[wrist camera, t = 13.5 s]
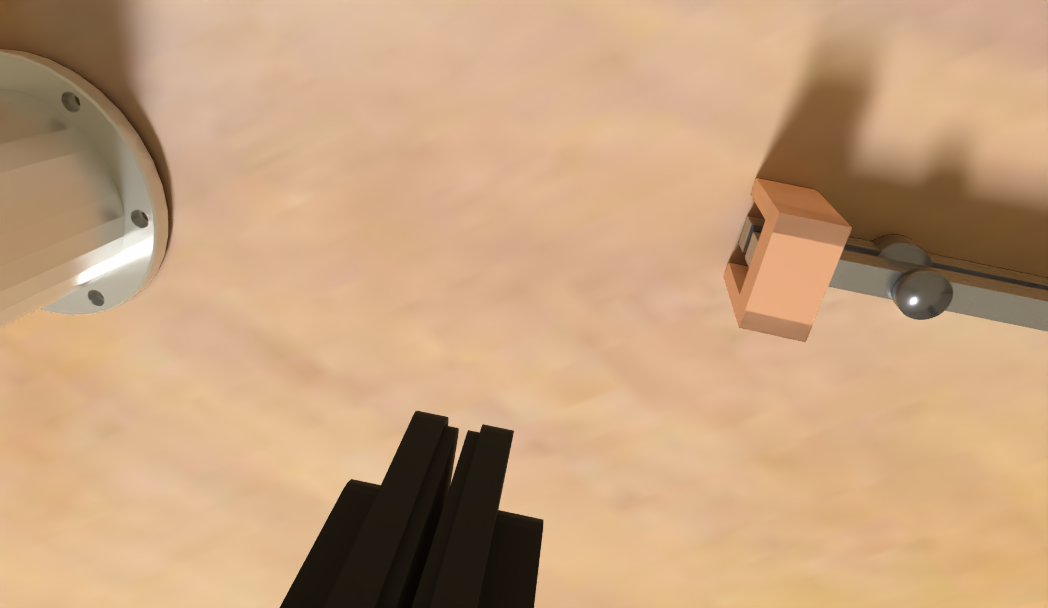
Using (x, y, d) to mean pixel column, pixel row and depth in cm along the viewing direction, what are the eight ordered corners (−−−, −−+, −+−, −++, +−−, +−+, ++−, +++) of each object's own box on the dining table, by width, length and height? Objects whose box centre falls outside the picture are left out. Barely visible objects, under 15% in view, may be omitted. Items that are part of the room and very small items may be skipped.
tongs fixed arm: (734, 253, 28) (739, 266, 27) (751, 204, 27) (757, 214, 26) (1270, 367, 26) (1304, 386, 25) (1308, 318, 25) (1345, 336, 24)
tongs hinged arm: (741, 268, 26) (748, 287, 24) (756, 220, 25) (765, 237, 24) (1316, 385, 25) (1369, 415, 23) (1354, 339, 24) (1412, 366, 22)
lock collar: (723, 277, 28) (739, 327, 24) (756, 177, 26) (779, 212, 22) (779, 289, 28) (805, 342, 24) (816, 190, 26) (852, 227, 22)
